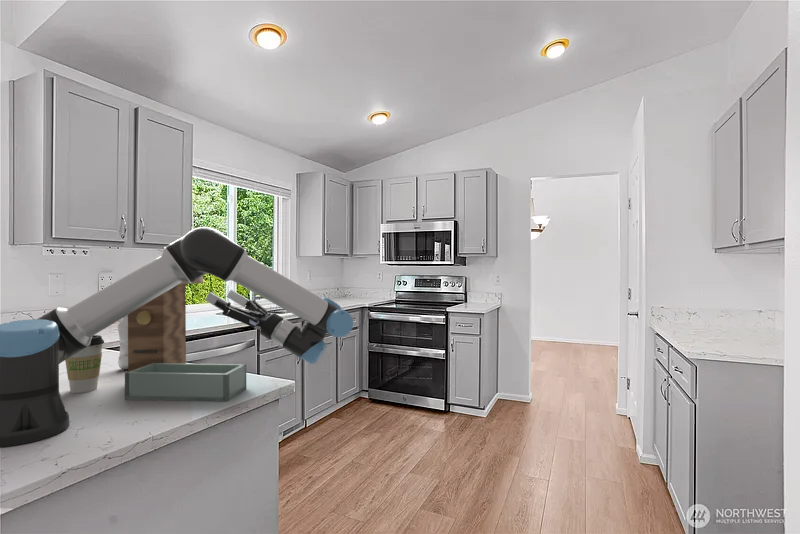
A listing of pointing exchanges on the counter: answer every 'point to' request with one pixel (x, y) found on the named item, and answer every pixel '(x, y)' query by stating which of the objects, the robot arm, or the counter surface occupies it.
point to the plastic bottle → (123, 343)
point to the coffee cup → (85, 367)
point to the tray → (185, 382)
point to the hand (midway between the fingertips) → (218, 294)
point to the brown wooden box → (158, 330)
